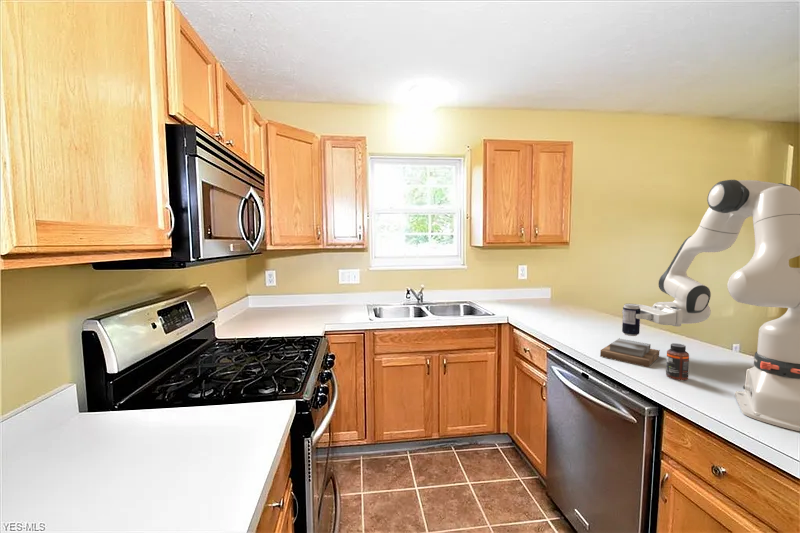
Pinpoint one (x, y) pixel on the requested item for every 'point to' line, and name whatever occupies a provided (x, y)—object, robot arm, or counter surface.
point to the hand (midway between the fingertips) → (629, 314)
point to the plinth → (631, 357)
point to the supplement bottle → (677, 362)
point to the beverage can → (630, 320)
